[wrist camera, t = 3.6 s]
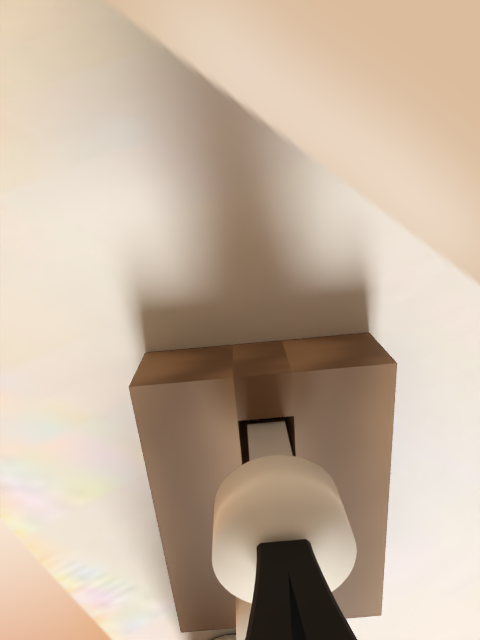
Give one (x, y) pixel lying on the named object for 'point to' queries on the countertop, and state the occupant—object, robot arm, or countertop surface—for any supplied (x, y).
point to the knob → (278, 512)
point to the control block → (233, 450)
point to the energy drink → (226, 637)
